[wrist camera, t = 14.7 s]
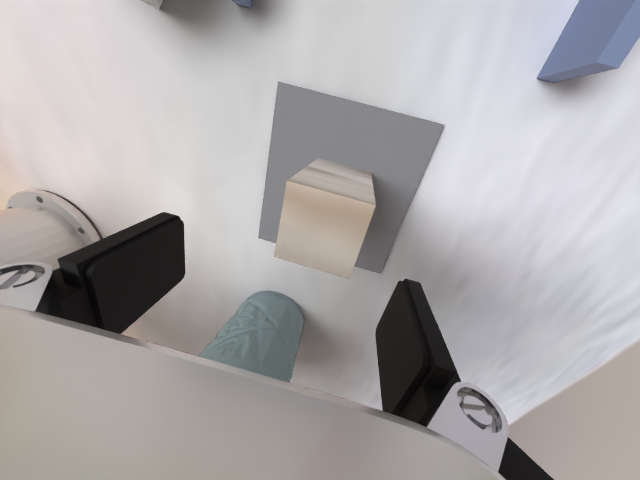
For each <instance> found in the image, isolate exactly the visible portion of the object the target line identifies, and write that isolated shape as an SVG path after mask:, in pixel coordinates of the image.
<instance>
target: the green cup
mask: <svg viewBox="0 0 640 480" xmlns="http://www.w3.org/2000/svg"><path fill="white" fill-rule="evenodd" d="M303 327H304V318H303V314H302V311H301V310H300V308H299V307H298V305H297V304H296V303H295V302H294V301H293V300H291V299H290V298H288V297H287V296H285V295H283V294H280V293H277V292H272V291H262V292H258V293H255V294H253V295H252V296H250V297H249V298H248V299H247V300H246V301H245V302H244V303H243V305H242V306H241V307H240V308H239V309H238V310H237V313H236V314H235V315H234V316H233V317H232V318H231V319H230V320H229V321H228V323H227V324H226V325H225V326H224V327H223V328H222V330H221V331H220V332H219V333H218V334H217V338H214V340H213V341H212V343H210V344H208V346H207V347H206V348H205V349H204V350H203V351H202V352H201V354H200V355H199V356H198V357H202V358H205V359H209V360H212V361H216V362H219V363H223V364H226V365H230V366H233V367H237V368H240V369H244V370H247V371H251V372H254V373H257V374H261V375H264V376H268V377H271V378H275V379H278V380H281V381H285V382H288V383H290V379H291V377H292V371H293V367H294V362H295V358H296V353H297V351H298V347H299V342H300V336H301V335H302V331H303Z"/></svg>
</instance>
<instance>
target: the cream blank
mask: <svg viewBox="0 0 640 480" xmlns="http://www.w3.org/2000/svg"><path fill="white" fill-rule="evenodd" d="M375 207H376V202H375V196H374V189H373V182H372V175H371V172H368V171H364V170H360V169H357V168H353V167H349V166H346V165H342V164H338V163H335V162H331V161H327V160H324V159H320V158H318V159H316V160H315V161H313V162H312V163H311V164H309V165H308V166H306V167H305V168H304V169H302V170H301V171H300V172H298V173H297V174H295V175H294V176H293V177H291V178H290V179H288V180H287V182H286V188H285V194H284V200H283V206H282V212H281V218H280V224H279V230H278V236H277V242H276V248H275V254H274V257H277V258H280V259H283V260H287V261H290V262H294V263H297V264H300V265H304V266H307V267H311V268H314V269H318V270H321V271H324V272H328V273H331V274H335V275H338V276H341V277H345V278H348V279H350V276H351V273H352V271H353V268H354V265H355V262H356V259H357V257H358V254H359V251H360V248H361V246H362V243H363V240H364V237H365V234H366V232H367V229H368V226H369V223H370V221H371V218H372V215H373V212H374V209H375Z"/></svg>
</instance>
